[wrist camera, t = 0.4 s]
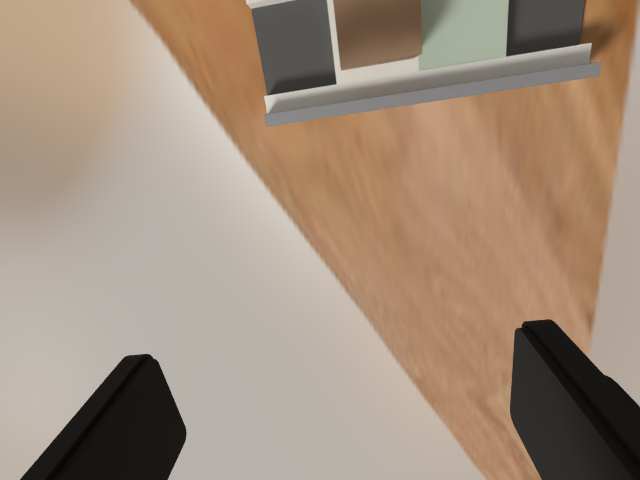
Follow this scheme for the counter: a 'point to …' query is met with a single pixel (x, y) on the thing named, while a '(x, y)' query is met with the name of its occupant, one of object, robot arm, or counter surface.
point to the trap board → (427, 68)
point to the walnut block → (377, 31)
